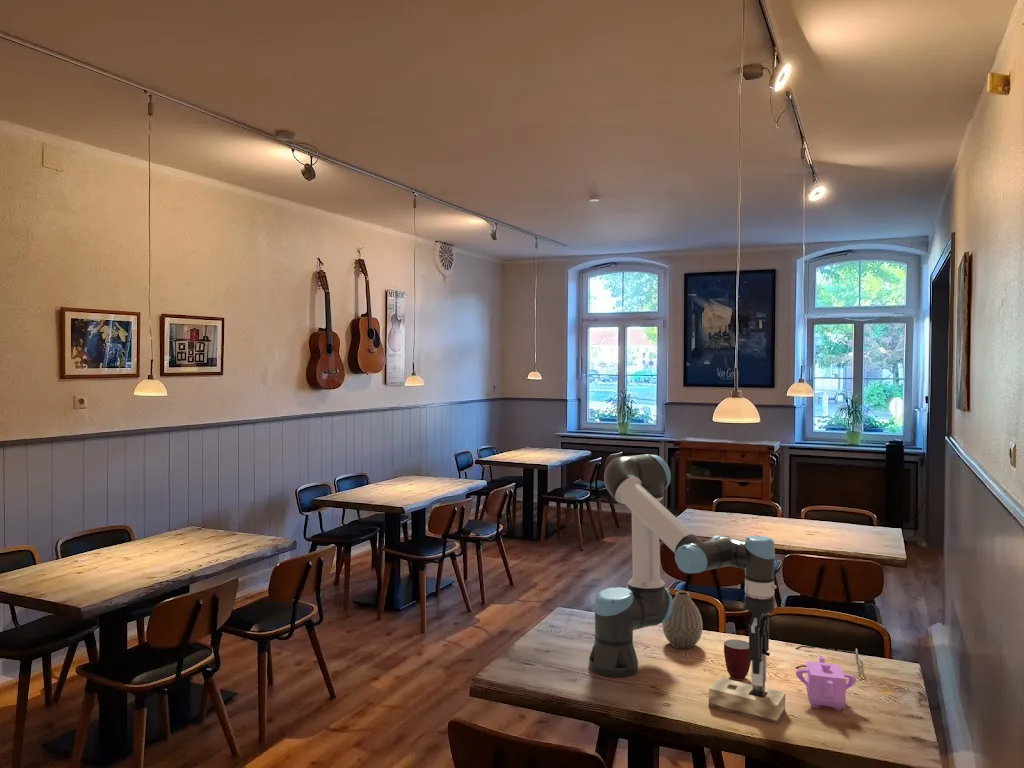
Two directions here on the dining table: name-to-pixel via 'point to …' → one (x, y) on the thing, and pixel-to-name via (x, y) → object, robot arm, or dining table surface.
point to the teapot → (826, 684)
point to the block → (746, 700)
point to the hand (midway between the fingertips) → (758, 682)
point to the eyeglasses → (839, 650)
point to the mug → (737, 658)
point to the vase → (683, 622)
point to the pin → (760, 690)
